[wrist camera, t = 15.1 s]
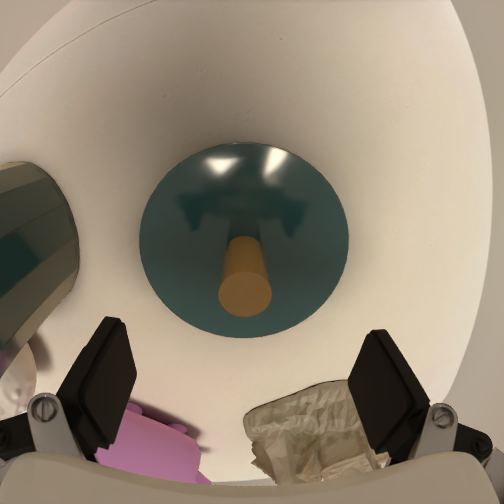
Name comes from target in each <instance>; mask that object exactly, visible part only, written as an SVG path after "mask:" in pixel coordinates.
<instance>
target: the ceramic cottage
mask: <svg viewBox="0 0 504 504" xmlns="http://www.w3.org/2000/svg"><path fill="white" fill-rule="evenodd" d="M243 423H244V427H245V432H246V435H247V437H248V438H249V439H250V440H251V441H252V442H253V443H252V447H253V448H252V452H253V454H254V455H255V456H256V459H255V460H254V461H252V462H251V464H253V465H255V466H257V468H259V469H261V470H262V471H263V472H264V473H265V474H267V475H268V476H270V477H271V478H272V479H273V480H274V481H275V483H276V484H278V485H291V484H301V483H310V482H318V481H321V480H322V477H323V479H324V480H331V479H336V478H342V477H347V476H352V475H356V474H361V473H365V472H369V471H373V470H377V469H381V463H384V462H386V461H387V460H388V458H389V455H388V452H385V453H382V454H378V455H376V454H375V451H374V449H371V448H370V446H369V443H368V440H367V437H366V435H365V432H364V429H363V426H362V423H361V420H360V418H359V415H358V412H357V409H356V407H355V404H354V401H353V398H352V396H351V393H350V390H349V388H348V380H346V381H341V380H340V381H335V382H326V383H322V384H318V385H317V386H315V387H310V388H308V389H306V390H302V391H299V392H298V393H297V394H295V395H291V396H287V397H285V398H282V399H279V400H277V401H275V402H271V403H268V404H265V405H263V406H261V407H258V408H256V409H254V410H252V411H250V412H249V413H248V414H247V415H245V417H244V421H243Z"/></svg>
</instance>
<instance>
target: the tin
mask: <svg viewBox="0 0 504 504" xmlns="http://www.w3.org/2000/svg"><path fill="white" fill-rule="evenodd" d="M78 266H79V244H78V237H77V231H76V227H75V223H74V220H73V217H72V214H71V211H70V208H69V206H68V204H67V202H66V200H65V198H64V196H63V194H62V192H61V191H60V189H59V187H58V186H57V185H56V183H55V182H54V181H53V180H52V178H51V177H50V176H49V175H48V174H47V173H46V172H44V171H43V170H42V169H41V168H39V167H37V166H36V165H33V164H31V163H27V162H16V163H12V162H10V163H6V164H2V165H0V379H1V377H2V376H3V374H4V373H5V372H6V370H7V369H8V367H9V366H10V364H11V363H12V362H13V360H14V359H15V357H16V356H17V355H18V353H19V352H20V351H21V349H22V348H23V347H24V346H25V344H26V343H27V342H28V340H29V339H30V338H31V337H32V335H33V334H34V333H35V332H36V330H37V329H38V328H39V327H40V325H41V324H42V323H43V322H44V321H45V319H46V318H47V317H48V316H49V315H50V313H51V312H52V311H53V310H54V309H55V308H56V307H57V305H58V304H59V303H60V302H61V301H62V300H63V299H64V298H65V296H66V295H67V294H68V293H69V292H70V291H71V288H72V286H73V284H74V282H75V279H76V276H77V272H78Z"/></svg>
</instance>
